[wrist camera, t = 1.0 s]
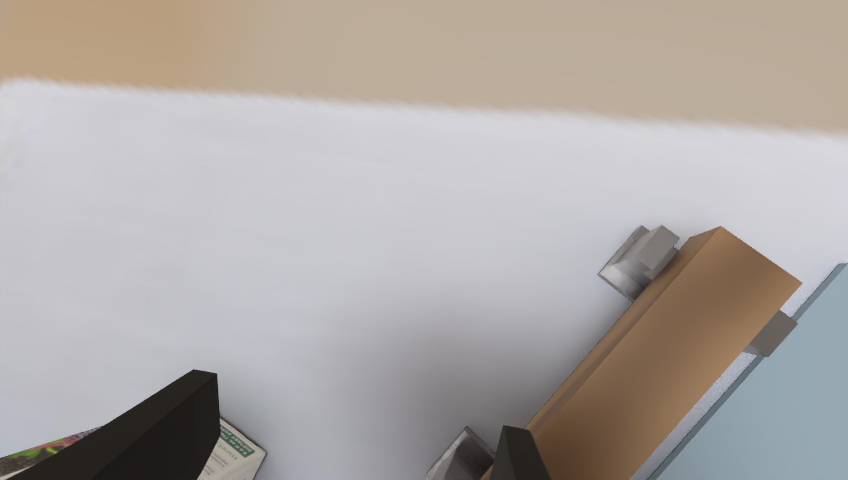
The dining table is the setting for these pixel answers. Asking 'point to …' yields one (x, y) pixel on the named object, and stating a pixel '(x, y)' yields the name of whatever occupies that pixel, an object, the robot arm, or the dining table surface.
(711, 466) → the mat
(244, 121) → the dining table surface
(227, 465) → the syrup box
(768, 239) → the dining table surface
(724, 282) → the rail
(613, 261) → the bracket
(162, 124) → the dining table surface
